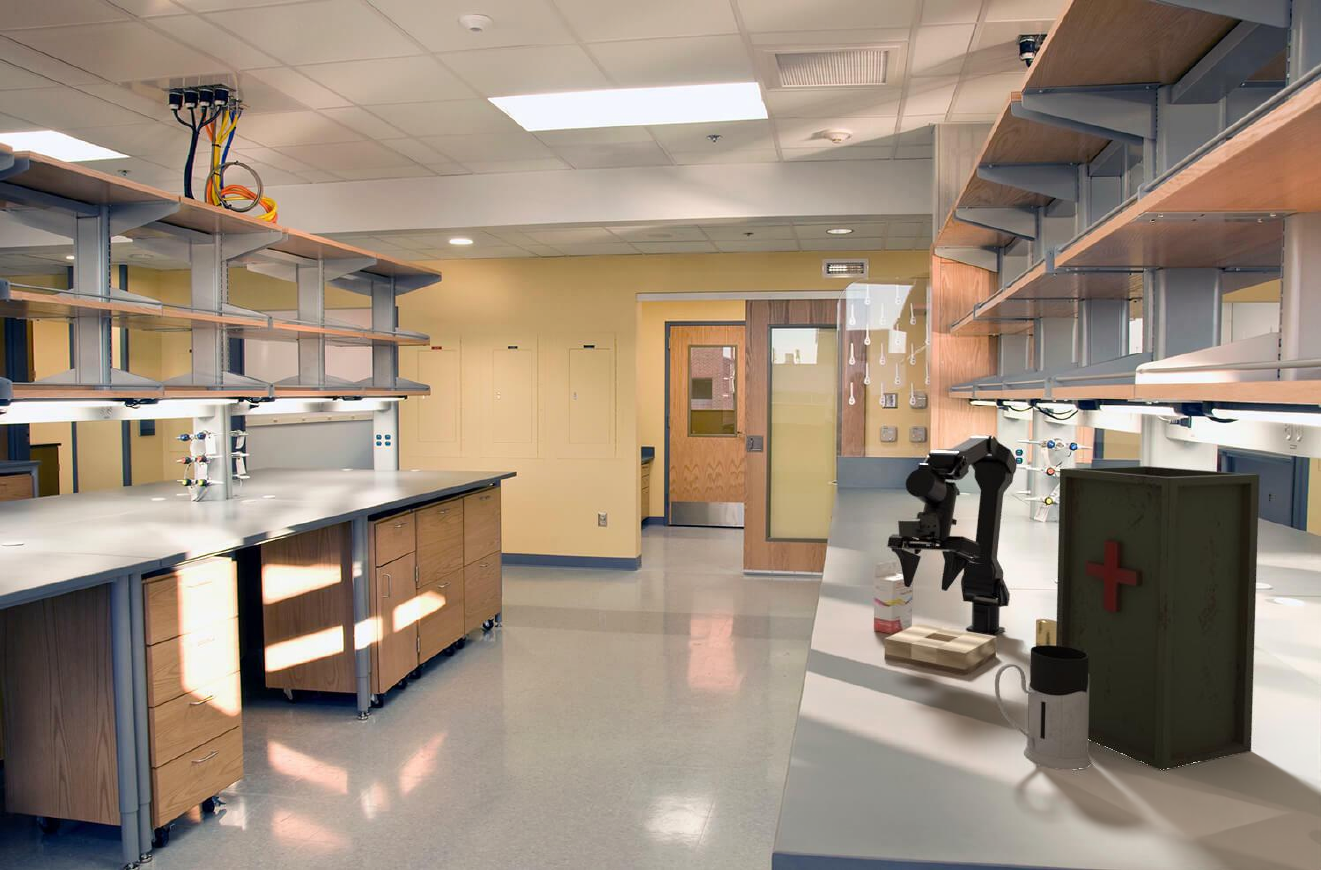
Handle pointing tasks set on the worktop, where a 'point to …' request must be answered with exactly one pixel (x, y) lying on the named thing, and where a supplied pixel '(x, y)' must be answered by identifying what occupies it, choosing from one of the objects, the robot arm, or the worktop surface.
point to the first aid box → (1161, 607)
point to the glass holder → (1055, 706)
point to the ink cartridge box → (891, 600)
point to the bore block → (941, 648)
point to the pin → (1045, 632)
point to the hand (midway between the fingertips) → (925, 588)
